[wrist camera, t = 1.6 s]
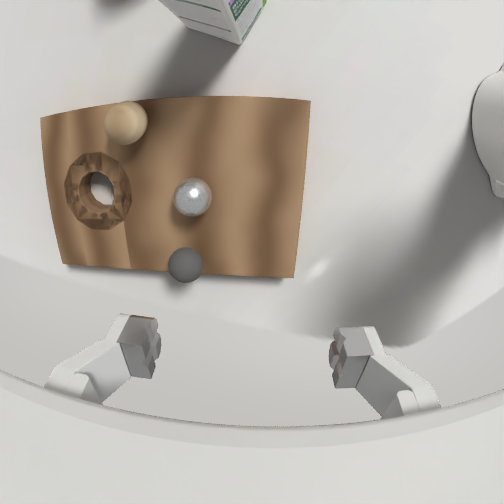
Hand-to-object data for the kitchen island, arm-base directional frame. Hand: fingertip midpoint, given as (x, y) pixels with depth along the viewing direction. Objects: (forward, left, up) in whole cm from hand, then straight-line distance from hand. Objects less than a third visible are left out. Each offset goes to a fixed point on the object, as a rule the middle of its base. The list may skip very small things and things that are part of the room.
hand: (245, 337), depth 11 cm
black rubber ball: (+6, +7, -17) cm, 20 cm away
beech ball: (+11, -7, -17) cm, 21 cm away
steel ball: (+5, 0, -17) cm, 18 cm away
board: (+9, 0, -21) cm, 23 cm away
